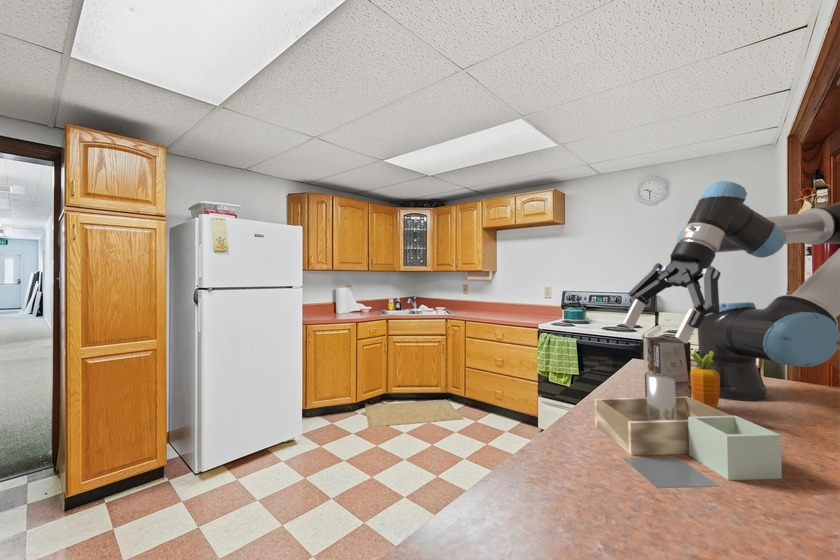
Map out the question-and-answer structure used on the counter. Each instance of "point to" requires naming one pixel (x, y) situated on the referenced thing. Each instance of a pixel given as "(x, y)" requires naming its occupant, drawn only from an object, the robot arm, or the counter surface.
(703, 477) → the coaster
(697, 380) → the carrot
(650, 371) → the coffee box
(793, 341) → the robot arm
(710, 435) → the square storage bin
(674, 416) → the tin can
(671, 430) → the crate
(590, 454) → the counter surface
